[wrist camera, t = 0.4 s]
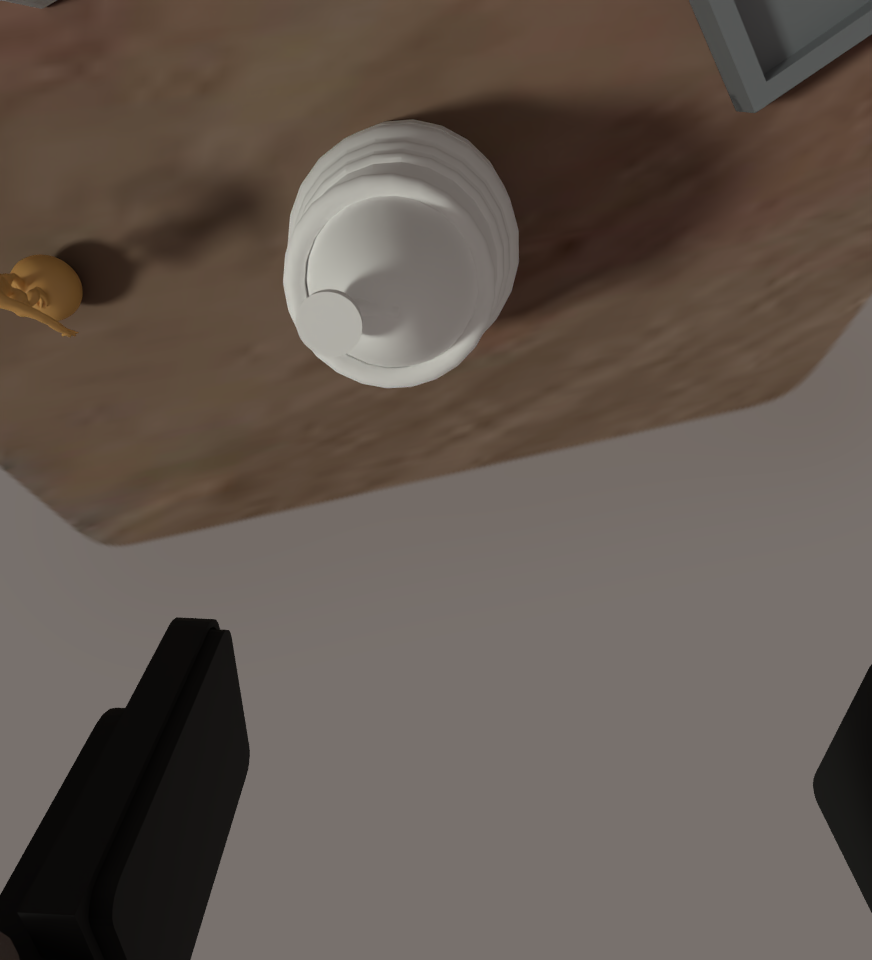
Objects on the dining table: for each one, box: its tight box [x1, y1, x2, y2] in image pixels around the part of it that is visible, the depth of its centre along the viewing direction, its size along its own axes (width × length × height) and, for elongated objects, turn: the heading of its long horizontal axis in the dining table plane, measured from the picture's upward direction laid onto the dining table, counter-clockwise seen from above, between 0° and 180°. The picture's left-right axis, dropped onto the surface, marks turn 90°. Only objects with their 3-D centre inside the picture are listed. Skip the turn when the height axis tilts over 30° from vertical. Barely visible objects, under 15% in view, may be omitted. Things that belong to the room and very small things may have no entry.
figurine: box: [0, 255, 83, 337], centre depth 38 cm, size 8×6×12 cm
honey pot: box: [283, 119, 519, 388], centre depth 34 cm, size 13×13×18 cm
